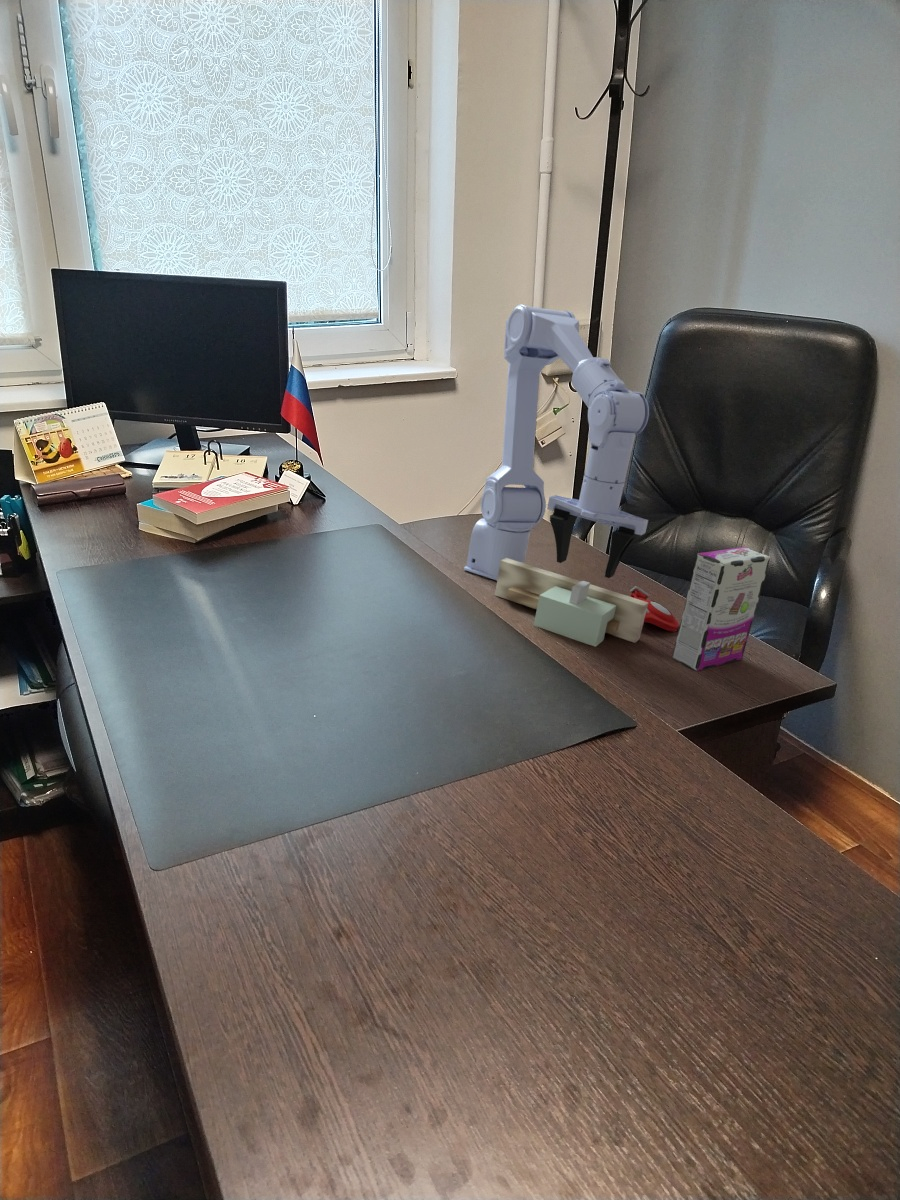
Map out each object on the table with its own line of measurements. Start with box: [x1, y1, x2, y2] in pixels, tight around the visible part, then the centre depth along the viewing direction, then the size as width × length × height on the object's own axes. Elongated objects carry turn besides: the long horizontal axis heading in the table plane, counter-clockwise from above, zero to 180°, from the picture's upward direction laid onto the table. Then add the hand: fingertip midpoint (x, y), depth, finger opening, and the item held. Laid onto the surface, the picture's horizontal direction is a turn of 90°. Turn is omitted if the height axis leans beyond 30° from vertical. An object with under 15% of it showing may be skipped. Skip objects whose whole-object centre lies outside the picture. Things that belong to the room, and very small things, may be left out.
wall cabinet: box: [533, 580, 617, 648], centre depth 124 cm, size 10×6×8 cm, turn 59°
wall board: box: [494, 558, 648, 644], centre depth 129 cm, size 24×4×6 cm, turn 59°
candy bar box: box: [671, 546, 772, 672], centre depth 120 cm, size 11×5×16 cm, turn 126°
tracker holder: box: [629, 585, 680, 633], centre depth 134 cm, size 12×4×10 cm
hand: (584, 568), depth 122 cm, fingers open, 7 cm apart
